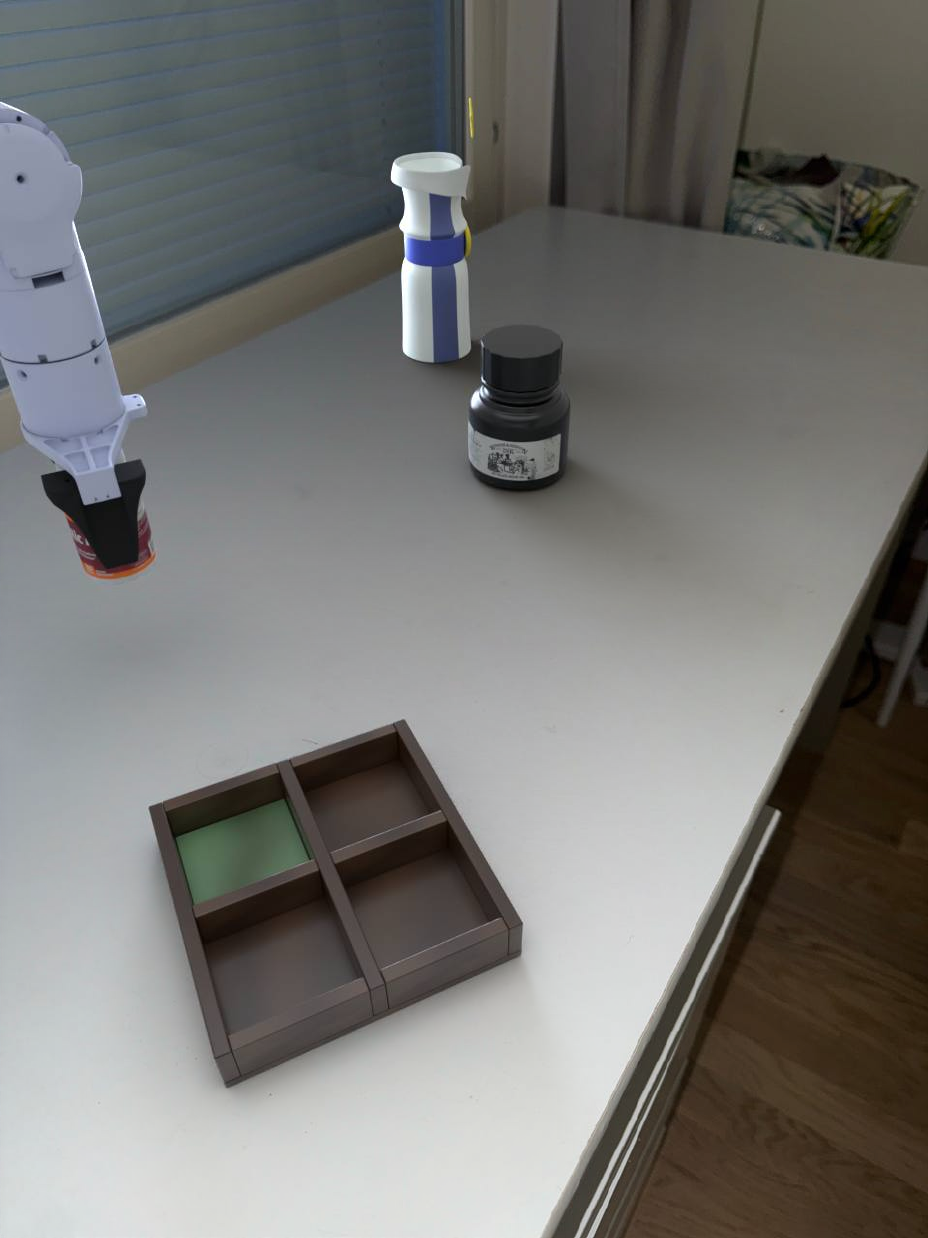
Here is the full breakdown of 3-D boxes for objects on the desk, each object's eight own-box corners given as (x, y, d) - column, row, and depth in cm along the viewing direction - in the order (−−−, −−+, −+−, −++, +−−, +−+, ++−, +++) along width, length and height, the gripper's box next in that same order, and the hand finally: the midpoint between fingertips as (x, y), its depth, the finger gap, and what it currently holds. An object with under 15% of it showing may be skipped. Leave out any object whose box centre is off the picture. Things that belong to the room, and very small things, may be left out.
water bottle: (460, 327, 108) (457, 84, 92) (484, 356, 102) (485, 102, 86) (392, 336, 106) (377, 90, 90) (412, 367, 100) (400, 109, 84)
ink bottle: (450, 481, 82) (447, 354, 74) (483, 435, 88) (483, 313, 81) (556, 501, 79) (564, 371, 72) (581, 451, 86) (592, 327, 78)
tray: (226, 1089, 42) (214, 1059, 40) (160, 839, 53) (147, 806, 51) (521, 955, 47) (523, 923, 45) (406, 750, 58) (404, 717, 56)
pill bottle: (69, 577, 61) (29, 466, 55) (115, 538, 64) (82, 430, 58) (129, 593, 59) (94, 481, 54) (173, 553, 63) (144, 443, 57)
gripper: (150, 379, 48) (201, 585, 56) (104, 287, 58) (153, 474, 66) (5, 408, 45) (82, 618, 54) (-16, 307, 55) (51, 498, 64)
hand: (114, 541), depth 60 cm, fingers closed on pill bottle, 5 cm apart
